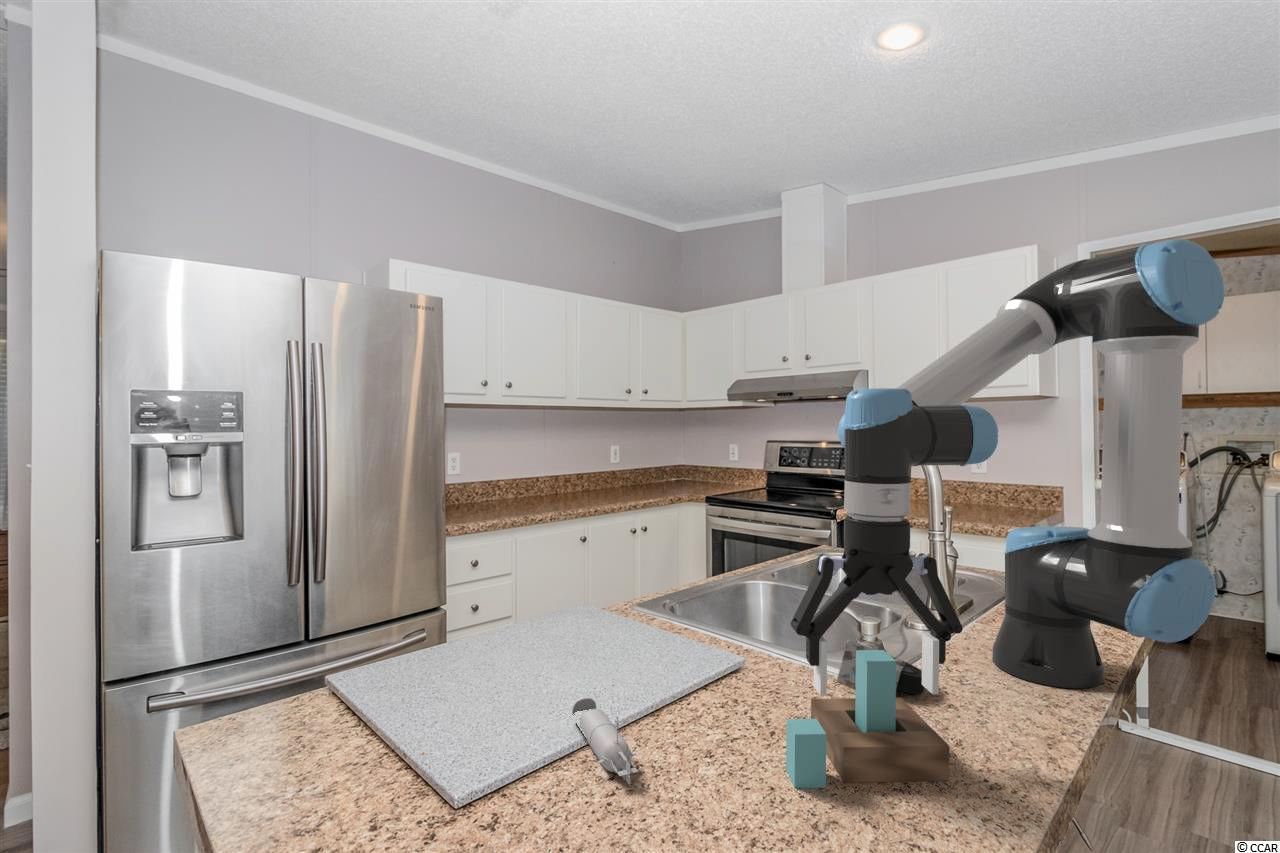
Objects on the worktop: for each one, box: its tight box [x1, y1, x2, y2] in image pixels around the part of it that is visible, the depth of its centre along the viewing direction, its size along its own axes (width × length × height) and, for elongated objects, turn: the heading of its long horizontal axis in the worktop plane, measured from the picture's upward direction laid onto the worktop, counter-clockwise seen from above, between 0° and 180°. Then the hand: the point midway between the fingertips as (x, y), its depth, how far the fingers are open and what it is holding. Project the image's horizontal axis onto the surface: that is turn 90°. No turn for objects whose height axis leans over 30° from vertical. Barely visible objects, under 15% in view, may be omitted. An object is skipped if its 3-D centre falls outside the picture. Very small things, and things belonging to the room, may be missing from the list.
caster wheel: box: [836, 639, 925, 695], centre depth 96 cm, size 7×11×10 cm
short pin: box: [785, 718, 827, 789], centre depth 72 cm, size 4×4×6 cm
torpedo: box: [571, 696, 639, 786], centre depth 78 cm, size 18×5×6 cm, turn 23°
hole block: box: [810, 697, 950, 784], centre depth 77 cm, size 12×12×4 cm
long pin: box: [855, 650, 897, 732], centre depth 77 cm, size 4×4×12 cm
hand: (875, 690), depth 77 cm, fingers open, 13 cm apart
